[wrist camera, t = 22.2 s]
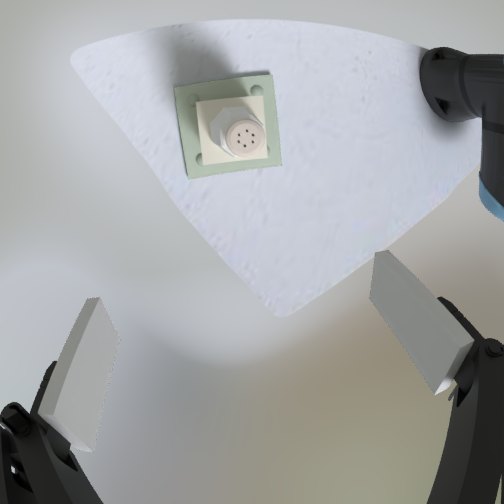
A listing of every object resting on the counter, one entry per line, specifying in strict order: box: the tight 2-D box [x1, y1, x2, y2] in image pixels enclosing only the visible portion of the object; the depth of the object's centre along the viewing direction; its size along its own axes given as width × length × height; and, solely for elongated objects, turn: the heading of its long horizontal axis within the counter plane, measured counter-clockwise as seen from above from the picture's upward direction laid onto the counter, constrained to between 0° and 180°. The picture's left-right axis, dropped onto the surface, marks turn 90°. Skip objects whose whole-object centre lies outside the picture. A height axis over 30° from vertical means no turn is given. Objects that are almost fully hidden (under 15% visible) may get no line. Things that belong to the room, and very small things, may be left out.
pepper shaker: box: [210, 106, 266, 157], centre depth 24 cm, size 5×5×11 cm
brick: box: [196, 96, 268, 165], centre depth 31 cm, size 7×7×6 cm
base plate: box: [174, 75, 282, 179], centre depth 38 cm, size 14×14×1 cm
